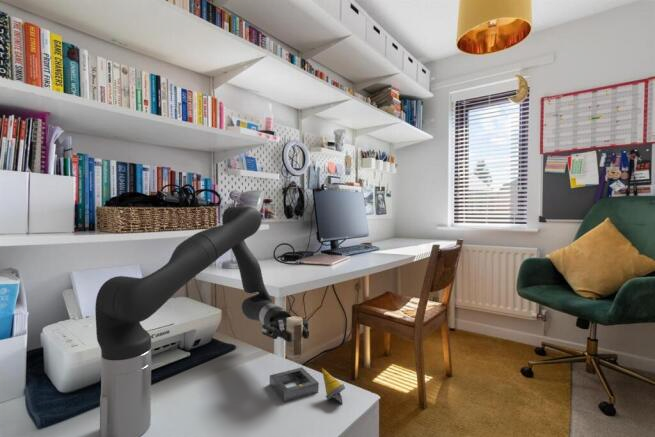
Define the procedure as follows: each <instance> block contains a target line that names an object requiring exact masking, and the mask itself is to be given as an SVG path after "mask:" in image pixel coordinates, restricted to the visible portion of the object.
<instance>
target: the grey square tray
mask: <svg viewBox="0 0 655 437" xmlns="http://www.w3.org/2000/svg"><path fill="white" fill-rule="evenodd" d="M297 380H300V381H301V382H302V383H301V384H298V385H293V386H290V387H287V386H286V385H285V384H288V383H291V382H295V381H297ZM269 385H270V387H271V388H272V389H273V391H275V393H276V394H277V395H278V397H279V398H280V399H281V401H282V402H283V403H286V402H290V401H294V400H296V399H299V398H303V397H306V396H308V395H312V394H316V393H319V392H318V391H319V389H320V388H319V387H320V386H319V381H318V380H317V379H316V378H314V377H313V375H312V374H310V373H309V372H308V371H307V370H306V369H305V368H304V367H297V368H294V369H290V370H286V371H283V372H279V373H277V372H276V373H273V374H271V375H269Z"/></svg>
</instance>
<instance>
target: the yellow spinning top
mask: <svg viewBox="0 0 655 437" xmlns="http://www.w3.org/2000/svg"><path fill="white" fill-rule="evenodd" d="M321 371H322V372H321V373H322V376H323V383H324V385H325V386H324V387H325V393H326V395H325V398H326V399H327V401H329V399H330V400H331V399H333V398H334V399H335V400H337V401H338V402H339V403H340V404H341V403H342V404H343V396H342V394H341V393H342V392H343V391H344V390H345V388H346V386H345V384H343V383H341V382H339V381H338V380H337V379H336V378H335V377H334V376H333V375H331V374H330V373H329V372H328V371H326V369H324V368H323V367H322V368H321ZM342 404H341V405H342Z"/></svg>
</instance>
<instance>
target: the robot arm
mask: <svg viewBox="0 0 655 437" xmlns="http://www.w3.org/2000/svg"><path fill="white" fill-rule="evenodd" d="M221 221H222V224H221V225H217V226H213V227H211V228H206V229H204V230H201V231H199V232H196V233H195V234H193V235H191V236H190V237H188V238H187V239H185V240H183V241H182V242H180V243H179V244H178V245H177V246H176V247H175V249H174V250H173V252H172V254H171V257H170V259H169V260H168V261H167V263H166V264H165V265H163V266H162V267H160V268H159V269H157V270H156V271H154V272H152V273H150V274H148V275H146V276H143V277H135V276H134V277H133V276H124V275H120V276H119V275H118V276H114V277H111V278H109V279H108V280H106V281H105V282H104V283H103V284H102V285H101V286H100V287H99V290H98V292H97V295H96V299H95V307H94V308H95V313H94V314H95V328H96V341H97V343H98V346H99V347H100V353H101V354H100V355H101V357H100V358H101V359H100V360H101V372H100V373H101V374H100V376H101V379H100V384H101V385H100V386H101V387H100V397H99V437H141V436H142V435H144V434H145V433H146V432H147V431H148V430H149V428H150V426H151V421H152V420H151V417H152V413H151V412H152V410H151V409H152V408H151V406H152V404H151V403H152V397H151V396H152V395H151V394H152V336H151V334H150V333H149V332H148V331H147V330H145V328H144V327H143V326H142V324H141V322H143V321H145V320H147V319H149V318H150V317H152V316H153V315H154V314H155V313H156V312H157V311H158V310H160V309H161V308H162V306H164V304H166V303H167V302H168V301H169V300H170V299H171V298H172V297H173V296H174V295H175V294H176V293H177V292H179V290H180V289H182V288H183V287H184V286H185V285H186V284H188V283H189V282H190V281H192V279H194V278H195V277H196V276H197V275H198V274H200V273H201V272H203V271H204V270H206V269H207V268H208V267H210V266H211V265H212V264H214V262H216V261H217V260H218V259H219V258H221V257H222V256H223V255H224V254H226V253H227V252H229V251H230V250H232V251H231V252H232V253H233V255H234V259H235V260H236V263H237V267H238V269H239V270H238V271H239V274H240V280H241V284H242V288H243V291H244V292H245V293H247V294H254V295H252V296H249V297H247V298H245V299H243V301H242V303H241V311H242V313H243V315H244V316H245V317H246V318H248V319H249V320H251V321H257V322H260V323H261V324H262V328H261V329H262V330H261V333H262V335H264V336H266V337H268V338H270V339H273V340H277V339H278V338H279V339H283V340H284V341H285V342H286V341H288V342H291V341H292V335H291V333H290V332H288V331H287V330H286V324H287V318H288V317H292V315H291V314H290V312H289V311H287V310H286V309H284V308H283V307H281V306H280V305H278V304H275V303H274V302H273V299H272V297H271V295H270V294H269V292H268V291H267V288H266V286H265V283H264V278H263V273H262V268H261V266H260V265H261V264H260V263H259V261H258V259H257V258H256V257H255V256H254V254H253V253H252V251H251V250H250V248H249V247H248V245H247V243H246V241H245V240H246V239H248V238H250V237H251V236H253V235H255V234H256V233H257V232H258V230H259V229H260V227H261V225H262V215H261V212H260V211H259V210H258V209H257V208H255V207H253V206H229V207H227V208H226V209H224V212H223V213H222V219H221ZM255 293H257V294H255ZM302 318H303V336H302V338H303V339H305V340H307V339H309V337H310V330H309V321H308V320H307V319H306V318H305V317H302Z"/></svg>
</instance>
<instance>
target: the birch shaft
mask: <svg viewBox="0 0 655 437" xmlns="http://www.w3.org/2000/svg"><path fill="white" fill-rule="evenodd" d="M303 318H304V317H301V316H296V315H295V316H291V317H288V318H287V324H286V330H287V331H288V332H290V333H291V335H292V341H291V342H288V341H285V343H286V344H285V349H286V350H285V356H286V357H285V358H288V359H290V360H297V359H300V358H302V356H303V337H302V336H303Z"/></svg>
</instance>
